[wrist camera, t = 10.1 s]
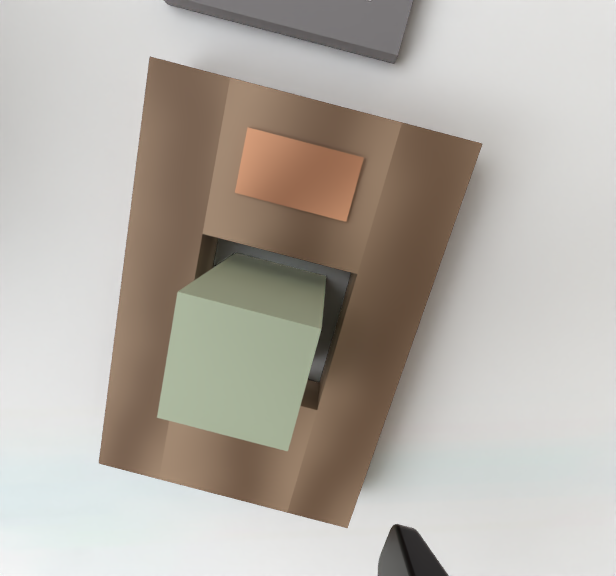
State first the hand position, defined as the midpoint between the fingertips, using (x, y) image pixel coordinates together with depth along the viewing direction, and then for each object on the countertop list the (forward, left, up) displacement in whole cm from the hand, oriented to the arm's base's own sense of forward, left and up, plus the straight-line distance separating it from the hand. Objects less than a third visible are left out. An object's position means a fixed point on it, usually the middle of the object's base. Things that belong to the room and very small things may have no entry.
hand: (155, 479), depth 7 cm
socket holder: (0, 0, -12) cm, 12 cm away
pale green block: (0, 0, -12) cm, 12 cm away
